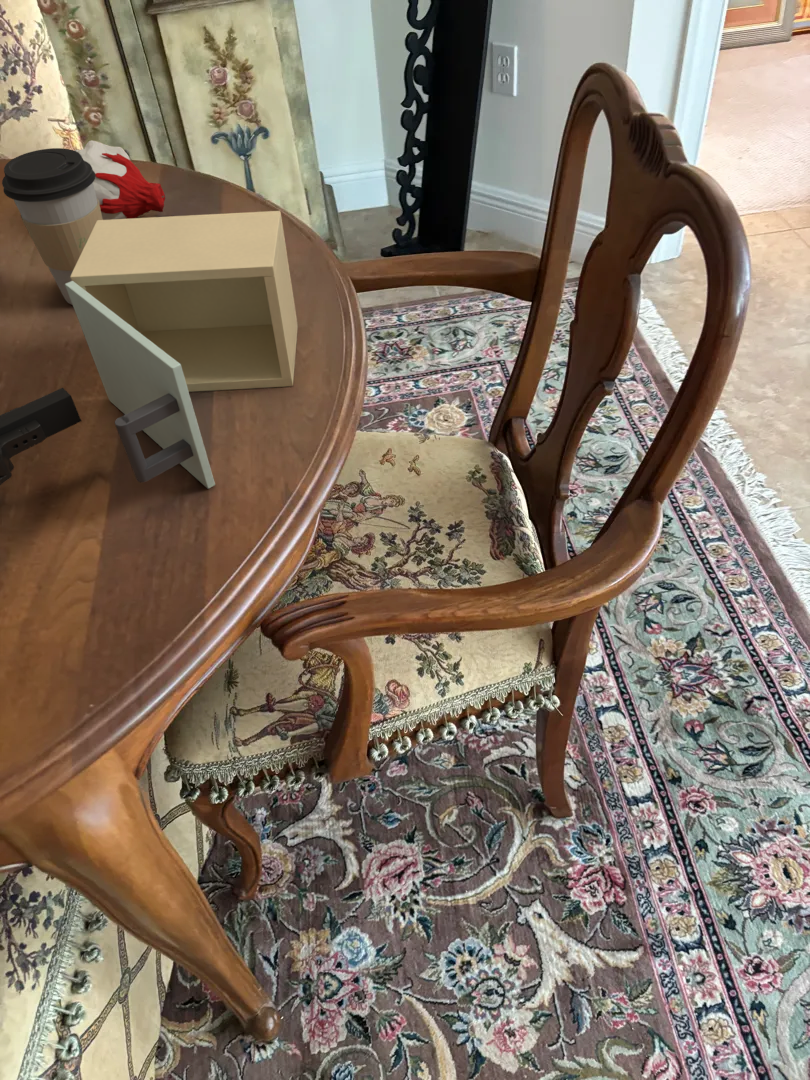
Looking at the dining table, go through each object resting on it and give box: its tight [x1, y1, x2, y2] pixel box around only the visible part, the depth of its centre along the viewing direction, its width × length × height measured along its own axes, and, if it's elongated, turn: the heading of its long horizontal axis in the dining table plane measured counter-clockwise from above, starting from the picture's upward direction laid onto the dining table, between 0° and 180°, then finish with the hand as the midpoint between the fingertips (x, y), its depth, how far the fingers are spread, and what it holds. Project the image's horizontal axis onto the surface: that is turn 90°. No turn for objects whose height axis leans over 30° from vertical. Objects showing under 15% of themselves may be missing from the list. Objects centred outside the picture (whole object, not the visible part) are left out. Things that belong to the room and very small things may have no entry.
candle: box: [73, 140, 166, 220], centre depth 102 cm, size 9×11×15 cm
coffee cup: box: [1, 147, 103, 306], centre depth 87 cm, size 9×9×15 cm
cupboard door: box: [65, 281, 216, 490], centre depth 68 cm, size 6×18×13 cm, turn 43°
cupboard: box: [70, 210, 299, 393], centre depth 78 cm, size 11×18×13 cm, turn 93°
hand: (71, 404), depth 66 cm, fingers closed
